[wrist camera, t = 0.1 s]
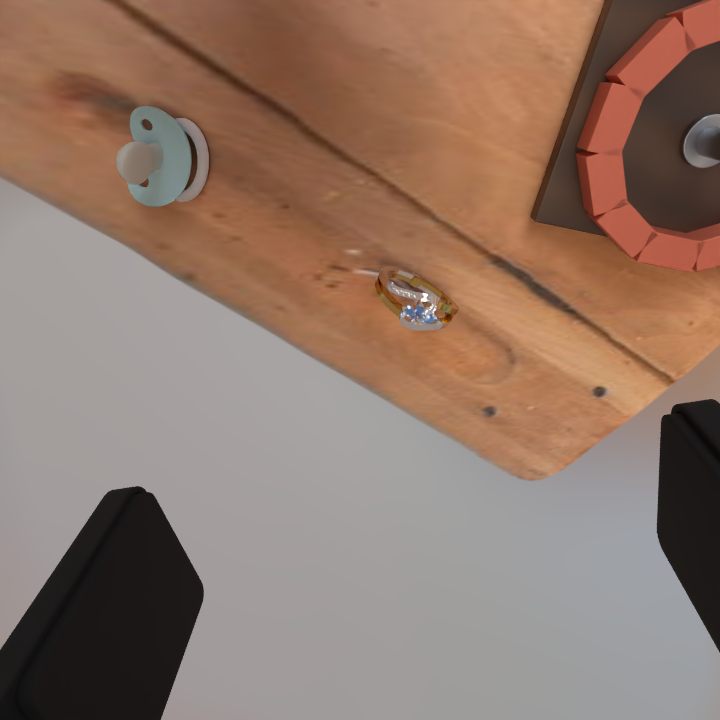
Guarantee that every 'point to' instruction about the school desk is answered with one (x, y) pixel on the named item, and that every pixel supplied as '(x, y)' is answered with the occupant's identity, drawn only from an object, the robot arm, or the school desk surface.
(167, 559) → the robot arm
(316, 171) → the school desk surface
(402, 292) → the ring
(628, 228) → the ring
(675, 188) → the board
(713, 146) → the steel post
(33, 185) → the school desk surface
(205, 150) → the pacifier
